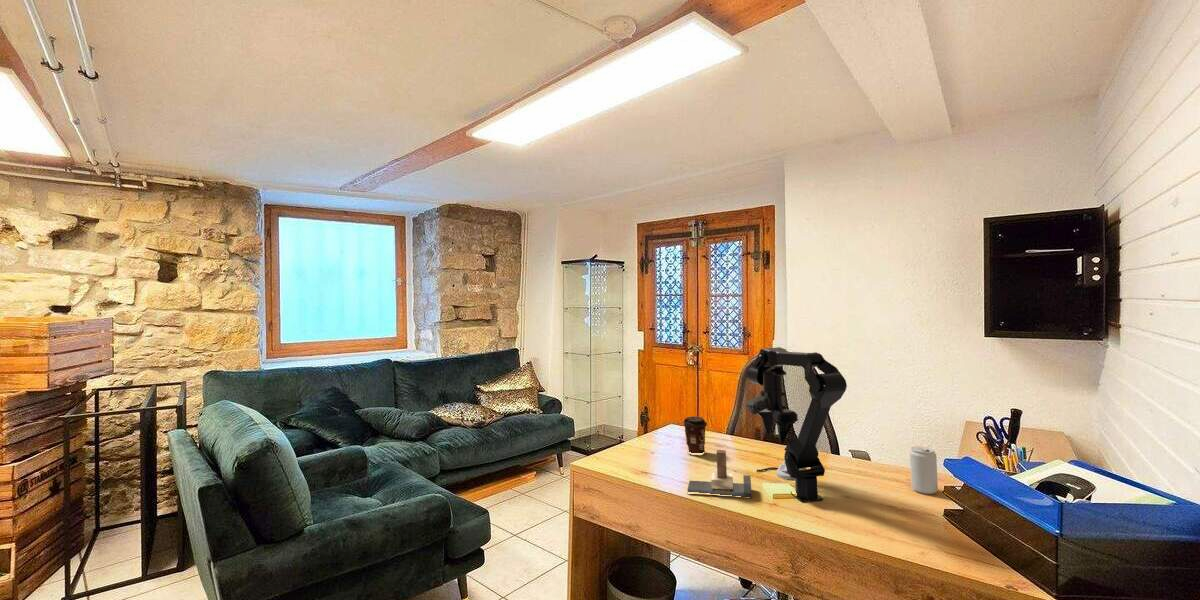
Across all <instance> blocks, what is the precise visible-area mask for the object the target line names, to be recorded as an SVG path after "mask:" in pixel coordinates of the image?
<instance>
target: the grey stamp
mask: <svg viewBox="0 0 1200 600" xmlns="http://www.w3.org/2000/svg"><path fill="white" fill-rule="evenodd" d="M716 471H717V472H711V478H710V479H711V480H710V482H711V484H712V488H714V489H731V490H733V483H734V476H733V473H729V472H728V473H727V450H726V449H716Z"/></svg>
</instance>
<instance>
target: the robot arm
mask: <svg viewBox="0 0 1200 600" xmlns="http://www.w3.org/2000/svg"><path fill="white" fill-rule="evenodd" d="M782 366H790V367H791V366H792V367H801V368H803V370H804V380H805V382H807V384H808V386H809V388H808V392H809V395H810V398H811V401H810V404H809V406H808V409H807V411H806V414H805V417H804V419H803V423H802V425H801V428H800V430H799V434H798V435H797V437H796V438H789V439H788V440H787V443H786V447H785V448H784V451H785V452H784V457H783V460H784V462H785V464H786V468H787V472H788V475H790V477H791V478H795V480H794V482H795V483H794V486H795V487H794V488H795V489H794V491H796V493H797V496H796V497H795V498H796V499H798V501H800V503H801V502H802V503H804V502H817V501H824V498H823V497H822V496H821V495H819V494H818V491H819V490H818V478H817V477H823V476H825V472H826V470H825V467H824V466H823V464H822V462H821V460H820V458H819V454H820V453H819V450H818V448H817V444H818V440H819V439H820V436H821V433H822V431H823V428H824V424H825V422H826V420H827V417H828V415H829V413H830V410H831V408H832V406H833V405H834V404H836V403H837V402H838V401H839V400H841V398H842V397H843V396H844V394H845V392H846V391H847V387H848V384H847V380H846V379H845V377H844V376H843V374H842V373H841V372H840V371H839V369H838V367H836V366H835V365H833V364H831V362H829V361H828V360H826V359H825V358H824V356H823V354H821V353H819V352H801V351H800V352H798V351H788V350H787V349H786V348H783V347H779V346H777V347H768V348H767V347H765V348H760V350H759V353H758V354H757V356H756V360H755V361H754V362H752V363H751V367H749V368H748V370H747V373H746V378H747V380H748V381H749V382H750V383H752V384H756V385H759V386H762V387H763V388H762V390H760V392H759V396H756V397H754V398H752V399H749V400H747V401H745V402H744V403H745V407H746V409H747V411H748V413H751V414H752V415H758V417H760V419H761V422H762V425H763V428H764V430H765V433H766V435H770V434H771V431H772V429H773V424H775V425H776V427H777V433H778V438H779V443H781V444H782V443H785V441H786V438H787V437H788V435H789V433H790V430H791V429H792V427H793V426H794V424H796V422H798V421H799V419H798V418H799V417H798V416H799V415H798V413H797V412H795V411H794V410H792V409H789V408H788V409H787V405H786V404H784V396H785V397H786V396H787V395H786V391H784V386H783V376H786V375H787V372H786V370H784V369H783V368H782ZM813 368H817V369H818V370H819V371H820V372H822V373H816V374H815V373H814V372H813ZM801 468H803V470H799V469H801Z"/></svg>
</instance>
